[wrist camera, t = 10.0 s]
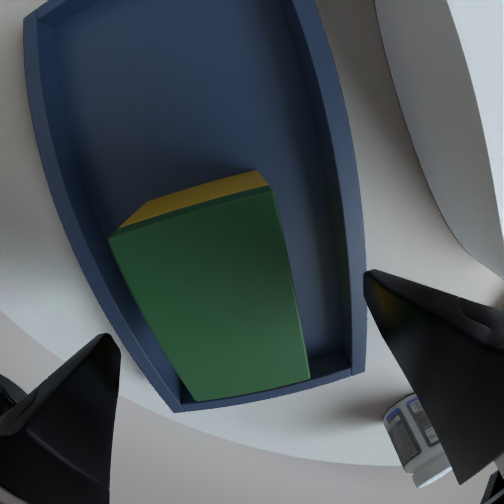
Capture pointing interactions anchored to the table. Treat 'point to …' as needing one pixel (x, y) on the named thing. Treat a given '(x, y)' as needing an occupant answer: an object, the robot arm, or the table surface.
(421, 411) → the pill bottle
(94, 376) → the robot arm
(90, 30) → the tray
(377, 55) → the table surface
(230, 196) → the sponge
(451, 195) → the ring with crossbar
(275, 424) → the table surface
